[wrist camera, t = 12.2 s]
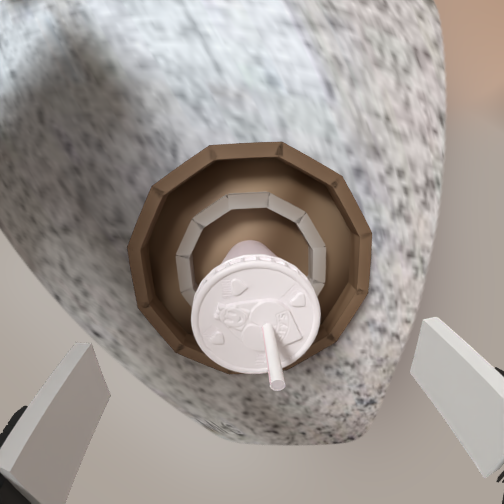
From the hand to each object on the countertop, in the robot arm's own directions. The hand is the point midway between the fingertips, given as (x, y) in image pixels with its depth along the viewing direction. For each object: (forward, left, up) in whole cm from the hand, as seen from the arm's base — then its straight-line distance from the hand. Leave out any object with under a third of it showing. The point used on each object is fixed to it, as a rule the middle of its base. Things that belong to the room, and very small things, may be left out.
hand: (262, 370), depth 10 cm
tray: (0, 0, -14) cm, 14 cm away
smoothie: (0, 0, -14) cm, 14 cm away
